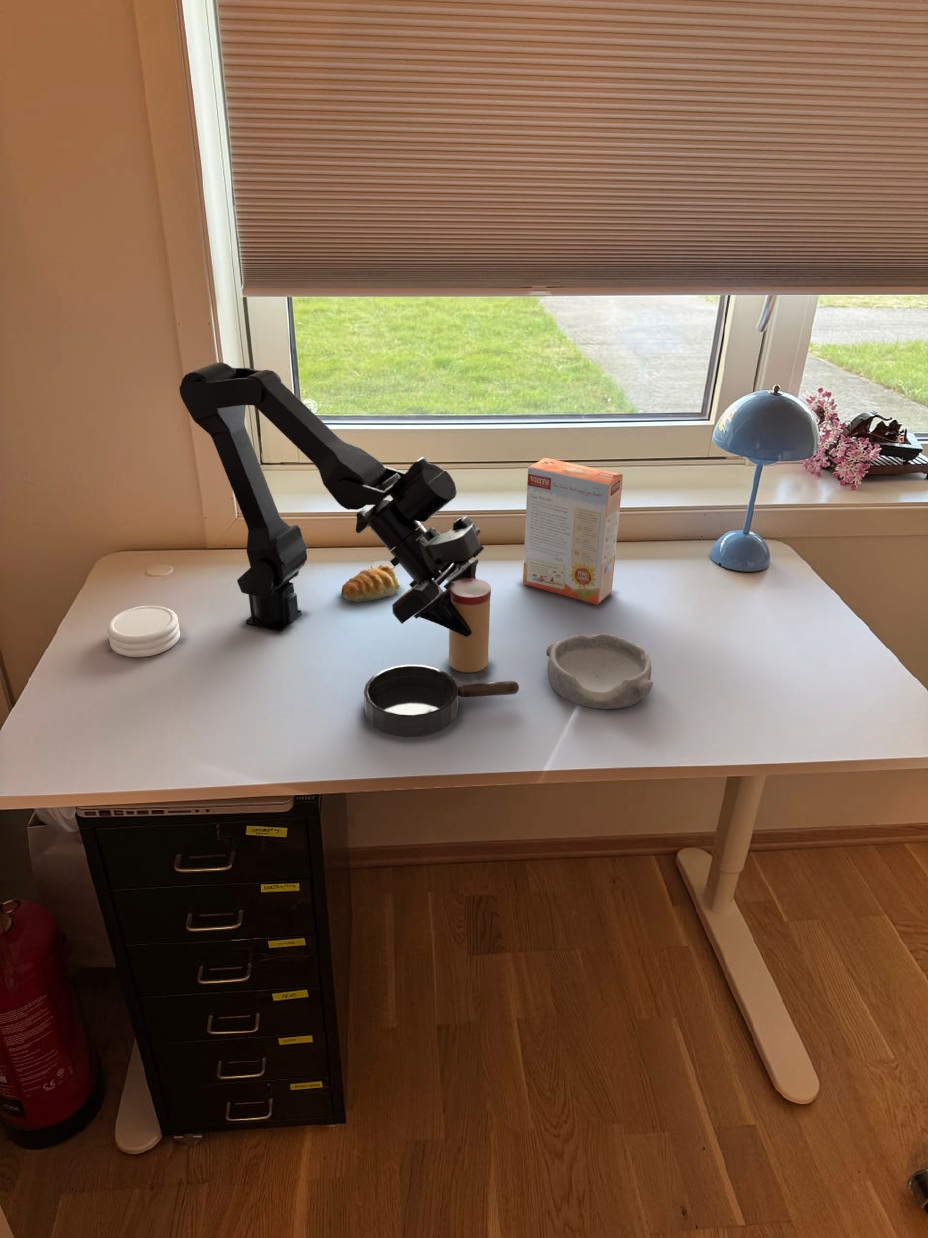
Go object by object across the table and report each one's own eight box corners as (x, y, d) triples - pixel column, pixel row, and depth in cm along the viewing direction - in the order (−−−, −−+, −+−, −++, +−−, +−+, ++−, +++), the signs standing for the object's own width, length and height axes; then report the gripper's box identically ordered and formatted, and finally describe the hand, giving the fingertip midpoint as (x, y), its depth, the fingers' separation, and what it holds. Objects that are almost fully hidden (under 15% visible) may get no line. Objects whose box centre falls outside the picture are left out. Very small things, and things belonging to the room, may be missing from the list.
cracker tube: (448, 672, 130) (449, 597, 124) (448, 651, 135) (449, 577, 129) (489, 672, 130) (491, 597, 124) (487, 651, 135) (490, 578, 129)
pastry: (355, 609, 147) (354, 588, 145) (332, 594, 152) (331, 573, 150) (403, 592, 152) (403, 571, 151) (380, 577, 157) (379, 557, 155)
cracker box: (613, 592, 153) (625, 472, 143) (597, 607, 149) (608, 484, 138) (538, 571, 160) (545, 454, 149) (521, 584, 155) (526, 466, 145)
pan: (349, 726, 120) (347, 703, 119) (390, 678, 130) (389, 657, 128) (435, 749, 117) (435, 726, 115) (471, 698, 126) (471, 676, 125)
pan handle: (457, 701, 122) (457, 689, 122) (455, 693, 124) (455, 682, 123) (519, 696, 123) (520, 685, 123) (517, 688, 125) (517, 677, 124)
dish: (661, 710, 124) (666, 679, 122) (561, 719, 122) (563, 687, 120) (627, 653, 137) (631, 624, 134) (536, 660, 135) (537, 631, 132)
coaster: (132, 621, 143) (128, 601, 142) (192, 628, 142) (189, 608, 140) (97, 654, 135) (92, 633, 133) (160, 662, 133) (157, 641, 131)
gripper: (411, 533, 115) (491, 629, 117) (472, 483, 130) (542, 569, 131) (358, 577, 122) (435, 668, 123) (422, 524, 136) (489, 606, 138)
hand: (478, 625), depth 129 cm, fingers closed on cracker tube, 5 cm apart
